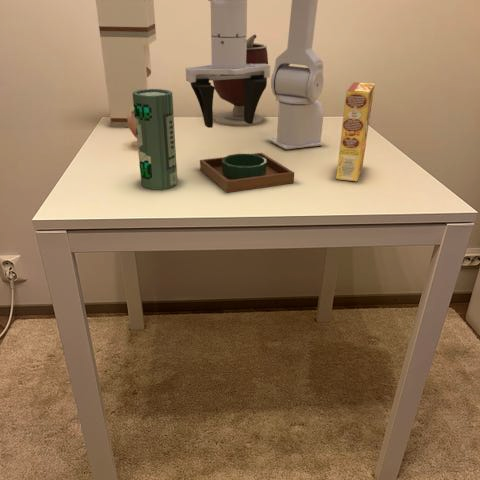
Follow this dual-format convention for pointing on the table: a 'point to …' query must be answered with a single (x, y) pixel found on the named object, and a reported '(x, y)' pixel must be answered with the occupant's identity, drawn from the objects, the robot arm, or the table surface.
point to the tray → (273, 177)
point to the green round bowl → (243, 166)
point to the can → (155, 138)
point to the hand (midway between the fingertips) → (228, 124)
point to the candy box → (354, 130)
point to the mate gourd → (240, 87)
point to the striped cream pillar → (125, 51)
